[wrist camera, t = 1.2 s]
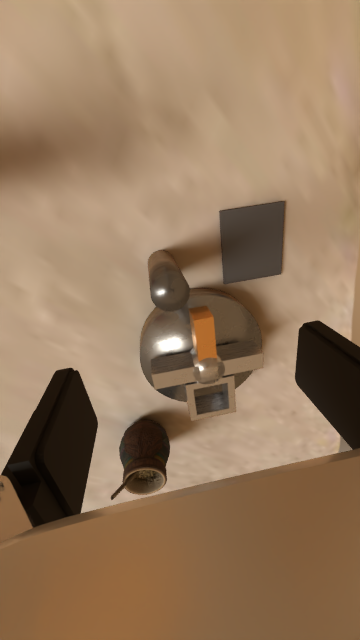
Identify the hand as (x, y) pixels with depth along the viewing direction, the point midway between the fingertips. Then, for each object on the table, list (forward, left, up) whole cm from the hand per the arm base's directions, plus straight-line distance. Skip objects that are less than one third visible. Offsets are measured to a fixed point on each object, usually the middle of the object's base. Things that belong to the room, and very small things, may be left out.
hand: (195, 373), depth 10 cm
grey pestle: (0, 0, -20) cm, 20 cm away
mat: (-1, +11, -20) cm, 22 cm away
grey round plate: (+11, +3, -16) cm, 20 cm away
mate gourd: (+25, -7, -20) cm, 32 cm away
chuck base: (+11, +3, -20) cm, 22 cm away
